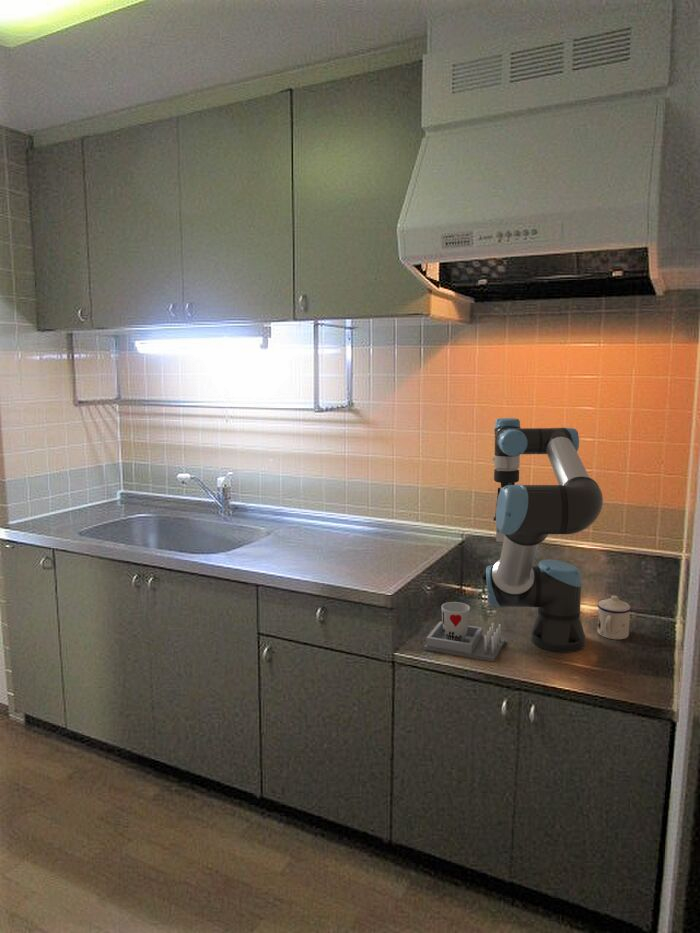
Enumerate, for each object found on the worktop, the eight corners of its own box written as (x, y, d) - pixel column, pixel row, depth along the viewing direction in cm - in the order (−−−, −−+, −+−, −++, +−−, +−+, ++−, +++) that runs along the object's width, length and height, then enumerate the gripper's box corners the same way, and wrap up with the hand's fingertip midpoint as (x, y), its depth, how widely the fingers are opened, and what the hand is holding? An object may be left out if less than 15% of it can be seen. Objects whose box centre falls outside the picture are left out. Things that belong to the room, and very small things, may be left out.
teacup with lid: (601, 625, 201) (602, 589, 199) (632, 632, 196) (634, 594, 194) (590, 639, 192) (591, 601, 190) (622, 646, 186) (624, 607, 184)
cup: (436, 640, 190) (436, 608, 189) (450, 631, 196) (450, 599, 195) (460, 648, 185) (460, 614, 183) (474, 638, 191) (475, 605, 190)
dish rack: (505, 641, 191) (505, 622, 190) (494, 661, 179) (494, 641, 178) (438, 631, 199) (438, 612, 198) (424, 649, 187) (424, 629, 186)
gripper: (502, 462, 214) (501, 525, 217) (484, 474, 192) (484, 545, 195) (526, 463, 211) (524, 527, 214) (510, 476, 189) (509, 547, 192)
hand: (505, 536), depth 205 cm, fingers open, 13 cm apart
